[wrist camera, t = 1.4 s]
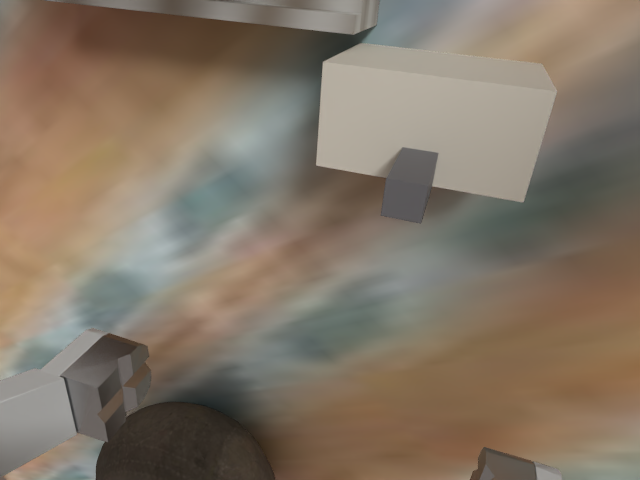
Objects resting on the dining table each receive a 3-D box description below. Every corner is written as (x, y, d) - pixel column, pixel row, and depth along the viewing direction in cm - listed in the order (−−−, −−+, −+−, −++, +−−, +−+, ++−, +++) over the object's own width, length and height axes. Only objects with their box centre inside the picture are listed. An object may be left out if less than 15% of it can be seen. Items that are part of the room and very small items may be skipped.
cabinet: (542, 63, 31) (571, 116, 19) (517, 152, 34) (529, 244, 22) (360, 42, 34) (290, 77, 22) (352, 126, 37) (286, 197, 25)
